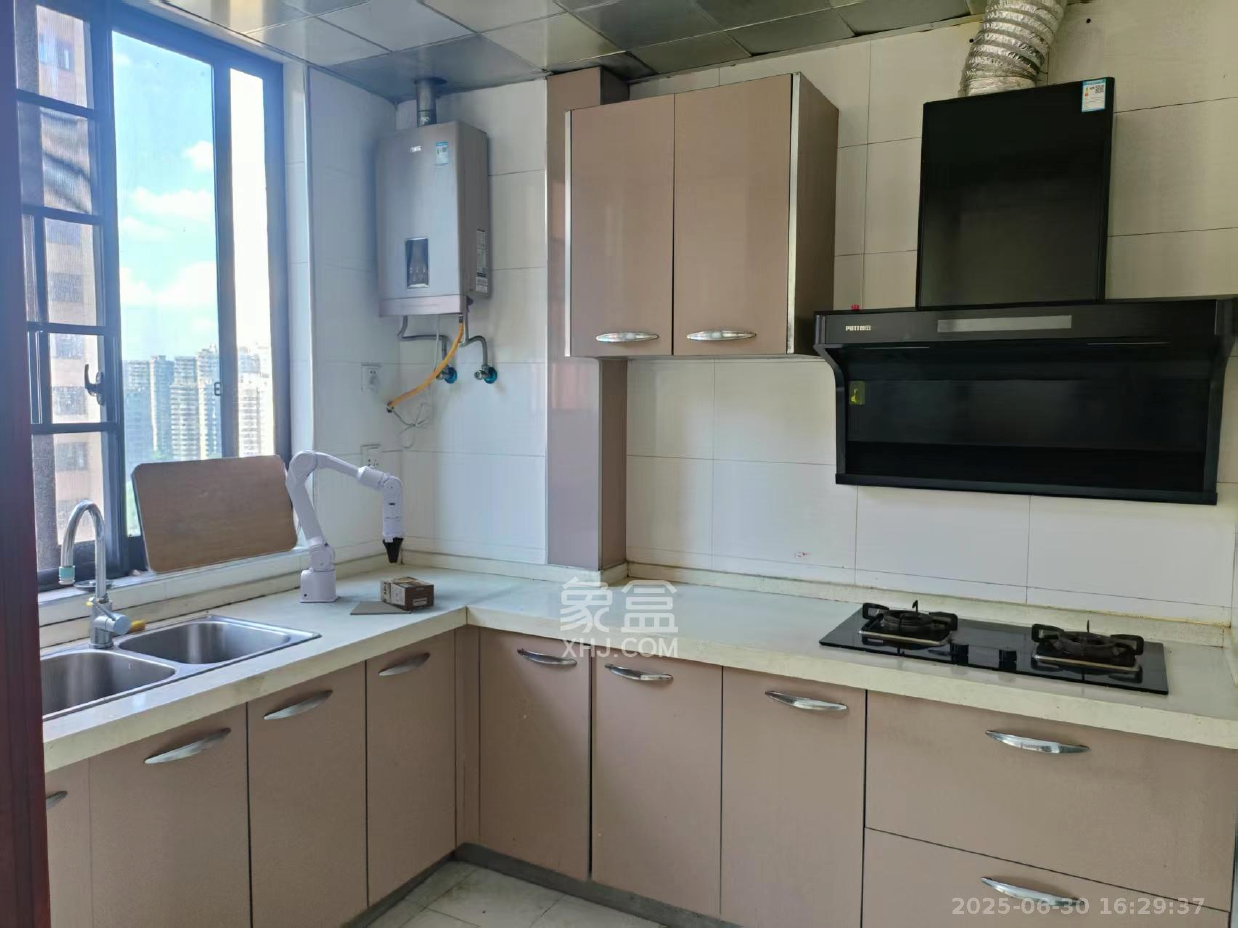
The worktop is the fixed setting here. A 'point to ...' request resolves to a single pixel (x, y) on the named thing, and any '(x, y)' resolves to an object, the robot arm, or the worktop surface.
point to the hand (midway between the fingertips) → (393, 562)
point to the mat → (377, 608)
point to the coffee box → (407, 592)
